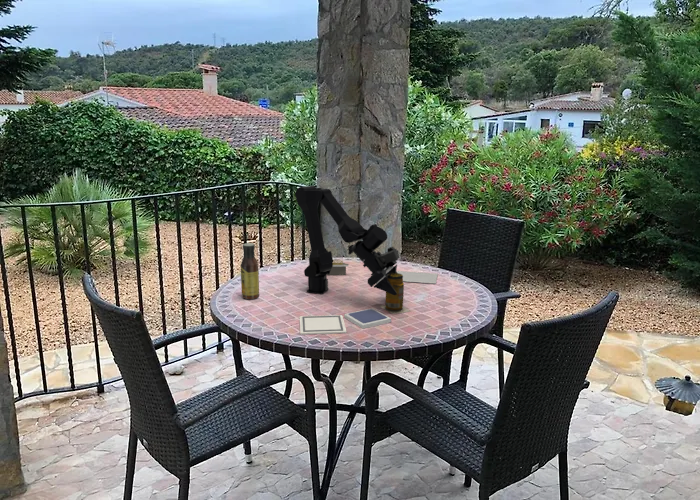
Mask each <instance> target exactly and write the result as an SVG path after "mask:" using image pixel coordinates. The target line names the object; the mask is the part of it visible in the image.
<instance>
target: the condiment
mask: <svg viewBox="0 0 700 500" xmlns="http://www.w3.org/2000/svg"><path fill="white" fill-rule="evenodd" d="M388 280H389V282H390V283H391V285H392V286H393V288H394V289H395V291H396V292H397V294H396V295H395V296H394V295H392V294H390V293H388V292H385V305H380V306H379V307H380V308H382V309H383V310H385V311H387V312H388V313H390V314H391V315H393V314H394V315H395V314H396V315H397V314H402V313H403V314H404V313H408V312H411V309H410V310H409V309H408V308H406V307H405V306H404V291H405V287H404V285H405V284H404V281H403V275H402V274H399V273H390V274H388Z"/></svg>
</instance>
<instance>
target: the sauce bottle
mask: <svg viewBox="0 0 700 500" xmlns="http://www.w3.org/2000/svg"><path fill="white" fill-rule="evenodd" d="M242 249H243V257H242V261H241V263H240V284H241V285H240V287H241V296H242V298H243V299H244V298H245V299H244V300H255V298H256V299H257V298H259V296H260V281H259V280H260V278H259V275H260V274H259V272H260V271H259V261H258V260H257V258H256V257H255V243H252V242H247V243H244V244H242Z"/></svg>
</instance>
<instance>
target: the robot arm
mask: <svg viewBox="0 0 700 500" xmlns="http://www.w3.org/2000/svg"><path fill="white" fill-rule="evenodd" d="M294 195H295V199H296V202H297V206H299V207H300V209H301V211H302V212H303V214H304V219H305V225H306V230H307V234H308V239H309V243H310V249H311V250H310V254H309V257H308V265H307V266H306V267H305V268H304V270H303V273H304V277H307V279H308V280H307V288H308V289H306V292H307V293H311V294H319V295H323V294H325V293H326V292H327V291H328V290H329V279H328V278H327V276H328V275H327V274H330V271H331V268H332V267H333V262H334V261H333V260H334V259H333V253H332V251H331V250H329V251H328V250H327V248H326V247H325V243H324V236H323V233H322V232H323V231H322V228H321V222H320V221H321V220H320V217H319V213H318V207H319V204H320V203H321V205H322V206H323V207H324V208H325V210H326V211H327V213H328V214H329V215H330V217H331V218H332V219H333V221H334V222H335V223H336V225H337V227H338V233H339V236H340V237H341V239H342V240H343V241H344V242H345V243H346V244H347V243H348V244H349V243H353V242H354V244H351V245H349V246H348V254H347V255H349V256H350V255H352V254H353V253H354V254H355V256H356V257H357V259H359V260H360V261H361V262H362V263H363V265H362V267H363V268H367V269H368V270H369V271H370V272H371V274H370V276H369V278H368V279H367V284H368V285H369V286H370V288H372V287H373V288H374V289H377V290H378V289H379V290H381V291H383V292H385V293H386V292H388V293H390V294H392V295H394V296H395V295H396V294H397V292H396V291H395V289H394V288H393V286H392V285H391V283H390V282H389V280H388V274H390V273H397V271H398V270H397V269H398V264H397V263H398V260H399V259H400V254H399V250H397V248H395V247H394V246H391V247H388V248H387V251H385V252H384V253H381V252H380V251H377V252H376V250H377V249H378V248H379V247H380V246H381V245H382V244H384V243H385V242H386V241H387V240H388V234H387V232H386V230H384V229H383V228H382V227H380V226H378V225H377V224H376V223H375V224H374V223H373V224H371V225H370V226H369V228H368V229H366V228H365V227H363V225H362V224H361V223H359V221H357V220H356V219H354V218H352V217H351V216H350V215H348V213H347V212H346V211H345V210H344V208H343V207H342V205H341V204H340V202H339V201H338V200H337V199H336V197H335V196H334V195H333V193H332V190H331V189H330V188H323V187H322V188H321V187H316V186H315V185H305V186H299V187H297V189H296V191H295V194H294Z"/></svg>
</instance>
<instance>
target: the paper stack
mask: <svg viewBox="0 0 700 500" xmlns="http://www.w3.org/2000/svg"><path fill="white" fill-rule="evenodd" d="M396 271H397V273H399V274H402V275H403V282H408V283H409V282H410V283H422V284H437V280H438V273H433V272H432V273H431V272H419V271H418V272H417V271H403V270H396Z"/></svg>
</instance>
